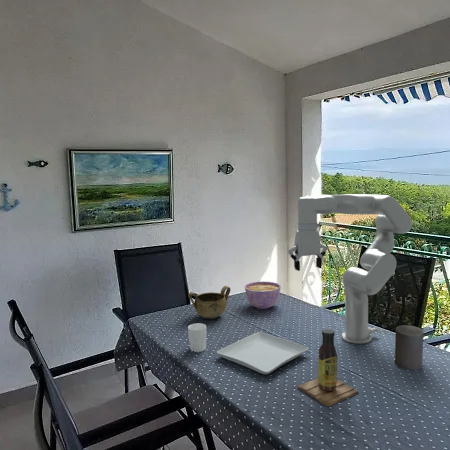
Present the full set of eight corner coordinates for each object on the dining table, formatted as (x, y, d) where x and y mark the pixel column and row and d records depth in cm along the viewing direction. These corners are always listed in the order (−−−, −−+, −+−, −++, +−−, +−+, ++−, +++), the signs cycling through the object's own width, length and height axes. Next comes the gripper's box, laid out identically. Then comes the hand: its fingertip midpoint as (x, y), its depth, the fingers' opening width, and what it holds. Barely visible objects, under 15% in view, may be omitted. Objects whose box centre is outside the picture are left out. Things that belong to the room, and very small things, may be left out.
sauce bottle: (326, 394, 137) (325, 336, 134) (314, 385, 142) (313, 330, 140) (341, 388, 140) (341, 332, 137) (328, 380, 145) (328, 326, 143)
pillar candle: (389, 361, 160) (389, 324, 158) (407, 356, 164) (408, 320, 161) (409, 373, 151) (410, 333, 149) (428, 367, 155) (430, 328, 153)
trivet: (327, 376, 151) (327, 373, 150) (357, 393, 139) (357, 390, 139) (297, 388, 143) (297, 385, 143) (327, 406, 132) (327, 403, 131)
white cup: (210, 346, 180) (209, 324, 179) (202, 354, 173) (200, 331, 172) (194, 344, 184) (193, 322, 182) (185, 351, 177) (184, 328, 175)
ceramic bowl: (224, 308, 229) (223, 282, 227) (237, 318, 214) (236, 289, 212) (185, 315, 220) (184, 288, 218) (196, 326, 205) (195, 296, 203)
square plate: (259, 338, 188) (258, 330, 187) (310, 356, 168) (310, 347, 168) (215, 359, 169) (215, 350, 168) (267, 381, 150) (266, 371, 149)
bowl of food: (288, 305, 230) (288, 285, 229) (266, 315, 216) (265, 293, 215) (260, 298, 244) (259, 279, 243) (237, 307, 230) (236, 287, 228)
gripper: (322, 224, 174) (322, 264, 176) (284, 228, 169) (284, 269, 171) (331, 226, 166) (331, 268, 169) (292, 230, 162) (292, 273, 164)
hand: (308, 268), depth 170 cm, fingers open, 9 cm apart
